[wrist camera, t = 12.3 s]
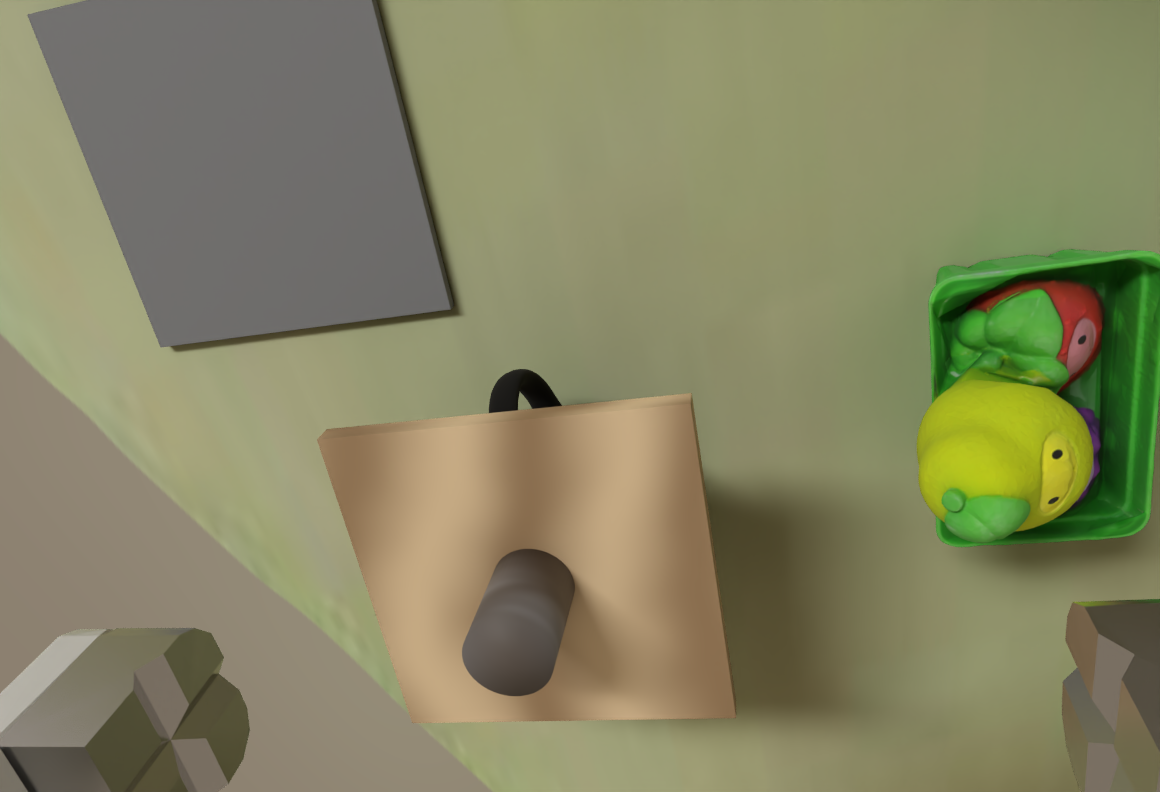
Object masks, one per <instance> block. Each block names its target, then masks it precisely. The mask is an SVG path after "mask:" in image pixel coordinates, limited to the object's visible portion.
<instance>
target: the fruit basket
mask: <svg viewBox="0 0 1160 792" xmlns="http://www.w3.org/2000/svg"><path fill="white" fill-rule="evenodd" d="M929 327H930V351H931V383H932V404H931V406H930V407H929V408H928V410H927V412H926V413H925V415H924V417H923V419H922V422H921V425H920V427H919V432H918V437H917V456H918V463H919V486H920V491H921V494H922V496H923V498H924V500H925V502H926V504H927V505H928V507H929V508H930V509H931V511H932V512H933V513H934V514H935V515H936V532H937V535H938V537H939V538H940V540H941V541H942V542H944V543H945V544H948V545H951V546H955V547H972V546H980V545H1012V544H1030V543H1048V542H1064V541H1079V540H1102V539H1109V538H1120V537H1126V536H1131V535H1133V534H1135V533H1137V532H1138V531H1140V530H1142V529H1143V528H1144V527H1145V525H1146V524H1147V522H1148V520H1149V518H1150V514H1151V497H1152V483H1153V472H1154V452H1155V444H1156V430H1157V420H1158V407H1159V397H1160V255H1159V254H1157V253H1154V252H1151V251H1136V250H1123V251H1116V252H1100V251H1087V250H1074V249H1070V250H1062V251H1059V252H1057V253H1055V254H1052V255H1050V256H1048V257H1045V256H1037V255H1025V256H1018V257H1010V258H1003V259H995V260H988V261H982V262H979V263H977V264H975V265H972V266H970V267H969V268H966V267H961V266H955V265H951V266H945V267H942V268H940V269H939V271H938V273H937V279H936V286H935V287H934V289H933V290H932V292H931V295H930V298H929Z"/></svg>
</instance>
